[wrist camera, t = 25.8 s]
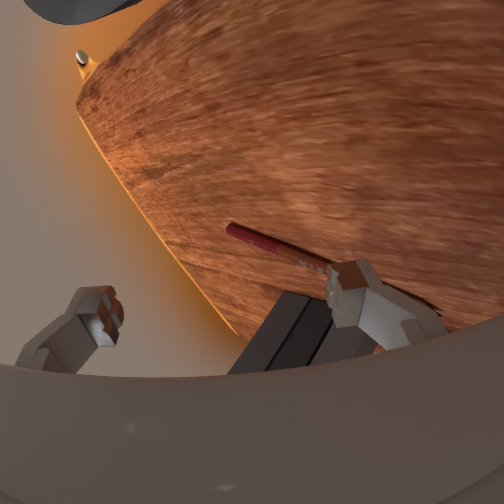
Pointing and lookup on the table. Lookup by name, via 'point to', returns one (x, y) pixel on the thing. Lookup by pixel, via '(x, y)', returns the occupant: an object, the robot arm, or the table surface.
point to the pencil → (288, 252)
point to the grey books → (300, 338)
